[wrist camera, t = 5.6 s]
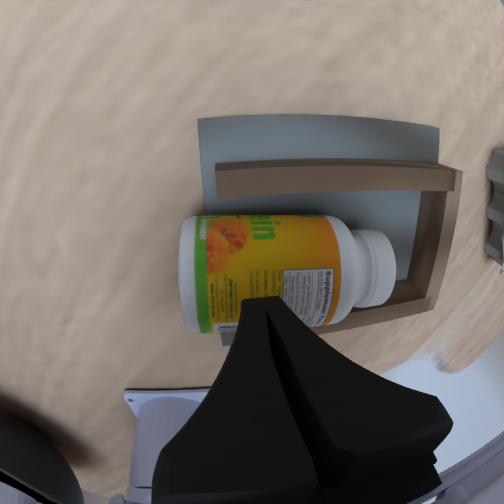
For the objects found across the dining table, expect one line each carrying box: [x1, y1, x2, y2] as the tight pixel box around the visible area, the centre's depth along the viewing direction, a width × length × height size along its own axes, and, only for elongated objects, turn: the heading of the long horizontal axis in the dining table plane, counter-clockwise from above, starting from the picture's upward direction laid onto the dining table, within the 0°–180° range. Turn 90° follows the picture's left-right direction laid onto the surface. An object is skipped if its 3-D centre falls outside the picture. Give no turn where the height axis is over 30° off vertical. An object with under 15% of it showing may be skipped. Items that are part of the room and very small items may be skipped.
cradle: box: [197, 115, 463, 346], centre depth 16 cm, size 14×14×3 cm
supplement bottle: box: [178, 215, 396, 333], centre depth 14 cm, size 5×5×10 cm
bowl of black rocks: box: [0, 415, 84, 504], centre depth 16 cm, size 20×20×19 cm
